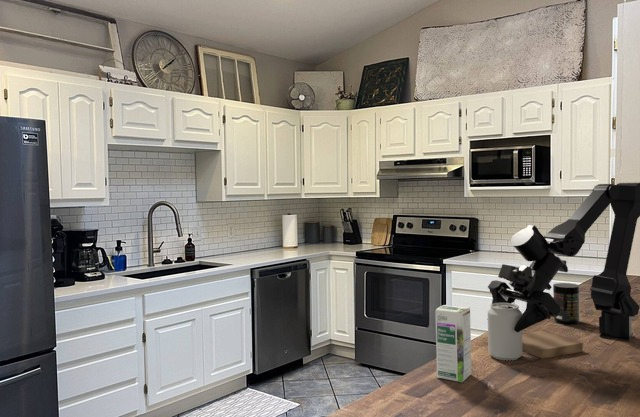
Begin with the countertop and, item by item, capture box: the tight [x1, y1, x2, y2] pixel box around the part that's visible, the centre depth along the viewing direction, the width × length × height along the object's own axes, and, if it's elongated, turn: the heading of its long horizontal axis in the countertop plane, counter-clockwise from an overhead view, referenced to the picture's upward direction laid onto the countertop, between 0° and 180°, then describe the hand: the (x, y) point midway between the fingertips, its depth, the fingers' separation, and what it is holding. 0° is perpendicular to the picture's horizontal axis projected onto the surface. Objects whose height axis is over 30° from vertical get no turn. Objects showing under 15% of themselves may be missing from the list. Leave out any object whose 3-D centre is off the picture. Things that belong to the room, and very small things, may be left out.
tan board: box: [522, 329, 584, 360], centre depth 127 cm, size 12×12×2 cm
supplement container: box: [552, 282, 581, 326], centre depth 149 cm, size 7×7×10 cm
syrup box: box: [434, 304, 472, 383], centre depth 110 cm, size 6×6×14 cm
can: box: [487, 303, 524, 362], centre depth 121 cm, size 8×8×12 cm
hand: (501, 326), depth 121 cm, fingers open, 9 cm apart
